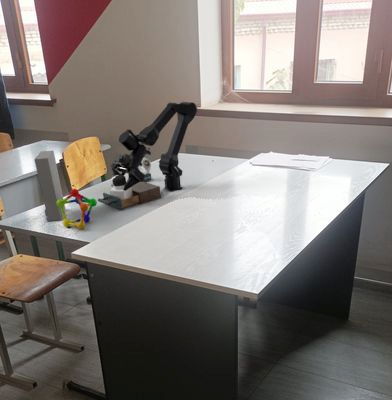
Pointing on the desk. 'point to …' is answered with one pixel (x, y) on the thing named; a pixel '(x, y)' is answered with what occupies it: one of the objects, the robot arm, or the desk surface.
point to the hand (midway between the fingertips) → (118, 188)
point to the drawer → (119, 200)
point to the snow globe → (147, 166)
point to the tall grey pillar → (49, 184)
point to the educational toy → (83, 207)
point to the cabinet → (146, 191)
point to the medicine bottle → (120, 187)
